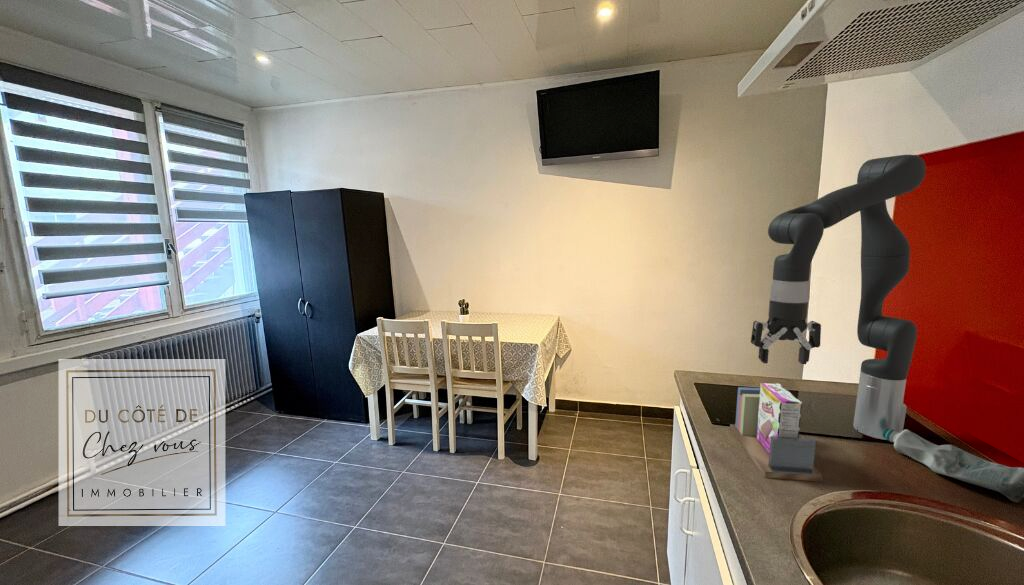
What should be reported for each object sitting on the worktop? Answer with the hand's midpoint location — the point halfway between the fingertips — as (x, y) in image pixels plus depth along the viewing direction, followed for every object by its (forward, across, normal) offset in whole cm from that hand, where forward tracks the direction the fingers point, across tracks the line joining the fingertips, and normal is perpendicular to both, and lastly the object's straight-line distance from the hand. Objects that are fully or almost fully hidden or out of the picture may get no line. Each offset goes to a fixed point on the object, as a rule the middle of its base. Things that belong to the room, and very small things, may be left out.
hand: (782, 362), depth 95 cm
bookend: (+24, 0, +8) cm, 25 cm away
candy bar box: (+24, 0, 0) cm, 24 cm away
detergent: (+26, -37, +1) cm, 45 cm away
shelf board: (+26, 0, -2) cm, 26 cm away
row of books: (+24, 0, -10) cm, 26 cm away
